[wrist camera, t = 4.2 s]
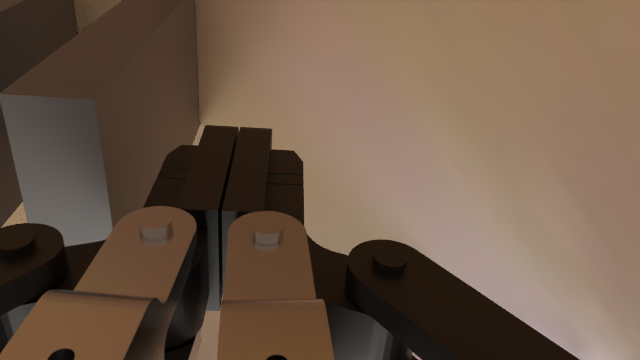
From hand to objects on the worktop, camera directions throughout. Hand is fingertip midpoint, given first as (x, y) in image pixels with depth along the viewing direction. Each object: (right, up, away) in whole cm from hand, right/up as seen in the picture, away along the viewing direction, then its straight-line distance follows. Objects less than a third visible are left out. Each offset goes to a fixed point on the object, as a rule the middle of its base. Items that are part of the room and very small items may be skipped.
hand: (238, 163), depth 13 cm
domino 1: (-3, +4, +7) cm, 8 cm away
